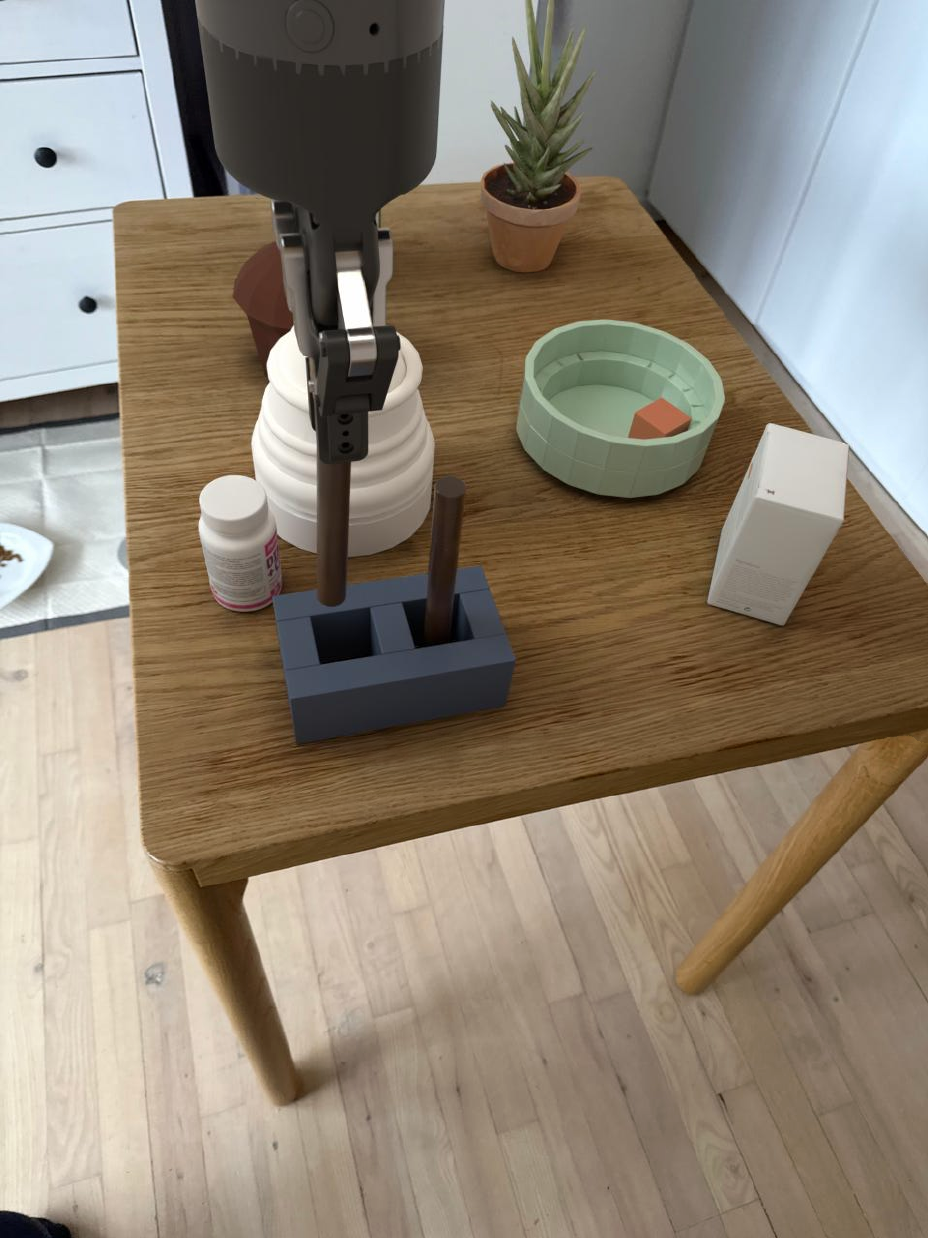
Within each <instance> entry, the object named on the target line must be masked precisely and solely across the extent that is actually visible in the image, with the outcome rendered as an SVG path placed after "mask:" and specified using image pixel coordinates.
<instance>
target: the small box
mask: <svg viewBox="0 0 928 1238" xmlns="http://www.w3.org/2000/svg"><path fill="white" fill-rule="evenodd" d="M850 447H851V446H850V444H849V443H845V442H842V441H839V440H835V439H831V438H828V437H824V436H820V435H817V434H814V433H809V432H805V431H801V430H798V429H795V428H791V427H788V426H783V425H779V424H776V423H773V422H772V423H771V422H769V423H767V424H766V425H765V428H764V431H763V432H762V435H761V438H760V439H759V442H758V444H757V447H756V450H755V451H754V453H753V456H752V459H751V461H750V463H749V465H748V468H747V470H746V472H745V475H744V478H743V480H742V481H741V485H740V486H739V489H738V491H737V494H736V496H735V498H734V500H733V503H732V505H731V507H730V510H729V512H728V515H727V516H726V520H725V521H724V524H723V526H722V529H721V533H720V538H719V542H718V547H717V551H716V552H717V553H716V557H715V562H714V567H713V572H712V578H711V583H710V587H709V592H708V595H707V597H708V598H707V600H706V601H707V602H706V603H707V605H709V606H714V607H717V608H720V609H724V610H727V611H731V612H734V613H737V614H741V615H744V616H748V617H751V618H755V619H758V620H762V621H765V622H768V623H772V624H775V625H778V626H785V624H786V623H787V621H788V619H789V617H790V616H791V614H792V612H793V611H794V609H795V607H796V605H797V604H798V602H799V600H800V599H801V597H802V595H803V594H804V591H805V590H806V588H807V587H808V584H809V583H810V581H811V579H812V578H813V576H814V574H815V573H816V571H817V570H818V569H817V568H818V567H819V565H820V564H821V562H822V560H823V558H824V557H825V555H826V553H827V551H828V549H829V547H830V546H831V544H832V542H833V540H834V539H835V537H836V536H837V534H838V532H839V530H840V529H841V527H842V525H843V524H844V522H845V513H846V512H845V511H846V499H847V498H846V497H847V483H848V481H847V480H848V472H849V459H850V458H849V457H850Z"/></svg>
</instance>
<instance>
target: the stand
mask: <svg viewBox="0 0 928 1238" xmlns="http://www.w3.org/2000/svg"><path fill="white" fill-rule="evenodd" d="M427 584H428V572H425V573H419V574H413V575H405V576H399V577H398V576H397V577H391V578H385V579H377V580H371V581H363V582H358V583H351V584H347V588H346V599H345V601H344V602H343V603H342V604H341V605H339V606H335V607H328V606H325V605H323V604H321V603H320V602H319V600H318V598H317V588H316V589H311V590H303V591H297V592H290V593H282V594H279V595H275V596H273V597H272V598H273V602H272V606H273V612H274V619H275V625H276V633H277V634H276V635H277V641H278V647H279V653H280V659H281V664H282V670H283V677H284V683H285V688H286V693H287V694H286V695H287V699H288V706H289V713H290V718H291V723H292V729H293V736H294V742H295V744H296V745H301V744H306V743H307V744H308V743H311V742H317V741H322V740H329V739H333V738H339V737H345V736H349V735H354V734H355V735H356V734H359V733H366V732H371V731H377V730H382V729H388V728H393V727H398V726H399V727H400V726H405V725H409V724H410V725H411V724H415V723H419V722H420V723H421V722H426V721H431V720H436V719H442V718H447V717H453V716H459V715H464V714H469V713H474V712H480V711H485V710H491V709H496V708H501V707H506V706H507V703H508V698H509V694H510V689H511V684H512V680H513V676H514V675H513V674H514V670H515V667H516V662H517V658H516V656H515V653H514V651H513V648H512V645H511V643H510V640H509V637H508V635H507V632H506V630H505V626H504V624H503V621H502V618H501V616H500V613H499V610H498V607H497V604H496V602H495V599H494V596H493V593H492V590H491V589H490V585H489V582H488V579H487V577H486V573H485V570H484V568H483V566H482V565H473V566H467V567H461V568H460V567H459V568H457V575H456V584H455V593H454V602H453V611H452V620H451V629H450V637H449V644H443V645H437V646H431V647H425V648H423V637H424V624H425V611H426V597H427ZM353 658H354V659H353ZM347 659H348V660H347ZM340 660H341V661H340ZM334 661H335V662H334ZM327 662H329V663H327ZM321 663H322V664H321Z"/></svg>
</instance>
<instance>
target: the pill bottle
mask: <svg viewBox="0 0 928 1238" xmlns="http://www.w3.org/2000/svg"><path fill="white" fill-rule="evenodd" d="M198 501H199V502H198V503H199V509H200V512H201V515H200V517H199V521H198V535H199V539H200V543H201V548H202V552H203V557H204V562H205V566H206V571H207V575H208V580H209V588H210V591H211V593H212V594H211V595H212V596H213V598H214V599H215V601H216V602H217V603H218V604H220V605H221V606H222V607H224V608H226V609H228V610H230V611H234V612H240V613H241V612H244V613H245V612H255V611H259V610H262V609H264V608H266V607H268V606H269V605H271V604H273V598H272V597H273V596H275V595H280V593H281V590H282V587H283V574H282V565H281V556H280V548H279V539H278V534H277V528H276V522H275V518H274V515H273V513H272V511H271V510H270V509H269V508H268V502H267V496H266V492H265V489H264V488H263V486H262V485H261V484H260V483H259V482H257V481H256V479H254V478H252V477H249V476H246V475H243V474H242V475H241V474H229V475H224V476H220V477H217V478H215V479H213V480H211V481H210V482H208V483H207V484H206V485H205V486H204V487H203V488H202V491H201V492H200V493H199V498H198Z"/></svg>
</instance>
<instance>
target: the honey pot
mask: <svg viewBox="0 0 928 1238" xmlns="http://www.w3.org/2000/svg"><path fill="white" fill-rule="evenodd" d="M396 333H397V335H399V337H400V343H401V349H400V350H399V356H398V361H397V364H396V367H395V371H394V374H393V377H392V380H391V383H390V386H389V390H388V393H387V396H386V399H385V402H384V406H383V409H382V410H380V411H371V412H370V411H369V412H368V455H367V456H366V457H365V458H364V459H363V460H360V461H354V462H351V480H350V507H349V534H348V558H355V557H363V556H364V557H365V556H371V555H375V554H377V553H381V552H384V551H386V550H387V551H388V550H390V549H393V548H394V547H396V546H397V545H399V544H402V542H404V541H406V540H408V539H410V538H411V536H413V535H414V534H415V533H416V531H417V530H419V528H420V527H422V525H423V524H424V522H425V520H426V518H427V516H428V513H429V512H430V509H431V502H432V490H433V475H434V463H435V461H434V459H435V448H436V447H435V445H436V443H435V438H434V435H433V430H432V428H431V424H430V422H429V420H428V419H427V417H426V413H425V410H424V406H423V400H422V397H421V394H420V390H419V386H420V384H421V382H422V378H423V370H424V369H423V363H422V360H421V357H420V353H419V352H418V350H417V349H416V348H415V346H414V345H413V344H412V342H411V341H410V340H409V339H407V338H406V337H405V336H403V335H402V334H400V332H398V331H397V330H396ZM305 357H307V356H303V354H302V353H301V352H300V350H299V348H298V343H297V339H296V336H295V332H294V325H293V327H292V329H291V331H290V332H288V333H287V334H286V335H284V336H283V337H281V338H280V339H279V341H278V342H277V343H276V344H275V346H274V347H273V348H272V350H271V351H270V354H269V358H268V361H267V372H268V376H267V378H268V381H269V383H268V384H267V386H266V387H265V388H264V393H263V396H262V399H261V407H260V411H259V413H258V414H259V415H258V419H257V420H256V422H255V426H254V429H253V432H252V436H251V443H250V445H251V453H252V461H253V467H254V468H253V469H254V476H255V480H256V481H257V482H259V483H260V484H261V485H262V486H263V488H264V489H265V492H266V496H267V502H268V508H269V509H270V510H271V511H272V513H273V515H274V518H275V522H276V528H277V536H278V537H280V538H281V539H282V540H283V541H285V542H287V543H289V544H290V545H293V546H294V547H296V548H298V549H300V550H303V551H307V552H309V553H313V554H316V555H317V442H316V431H314V430H313V428H312V425H311V421H310V417H309V404H308V389H307V375H306V361H305Z"/></svg>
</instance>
